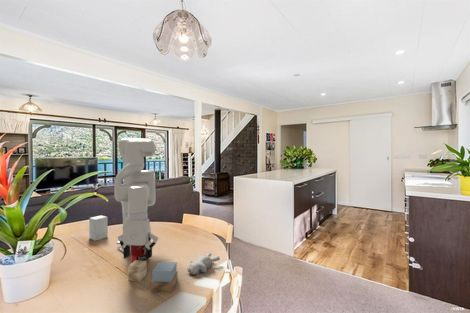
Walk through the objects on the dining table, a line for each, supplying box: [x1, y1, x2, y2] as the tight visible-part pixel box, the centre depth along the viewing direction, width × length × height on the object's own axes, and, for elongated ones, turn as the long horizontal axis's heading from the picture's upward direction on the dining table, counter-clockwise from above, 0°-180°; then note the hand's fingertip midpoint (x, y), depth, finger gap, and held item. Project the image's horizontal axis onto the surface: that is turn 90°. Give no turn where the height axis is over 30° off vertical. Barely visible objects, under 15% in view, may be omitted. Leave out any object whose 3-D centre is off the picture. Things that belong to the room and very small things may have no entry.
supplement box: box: [89, 214, 109, 242], centre depth 138 cm, size 7×7×13 cm
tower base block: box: [150, 270, 178, 294], centre depth 88 cm, size 8×8×4 cm
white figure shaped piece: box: [187, 252, 221, 276], centre depth 102 cm, size 10×5×15 cm
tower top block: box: [151, 261, 177, 282], centre depth 88 cm, size 7×7×4 cm
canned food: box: [130, 245, 149, 265], centre depth 107 cm, size 8×8×11 cm
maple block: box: [127, 260, 147, 282], centre depth 94 cm, size 5×5×6 cm
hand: (137, 257), depth 93 cm, fingers open, 9 cm apart
